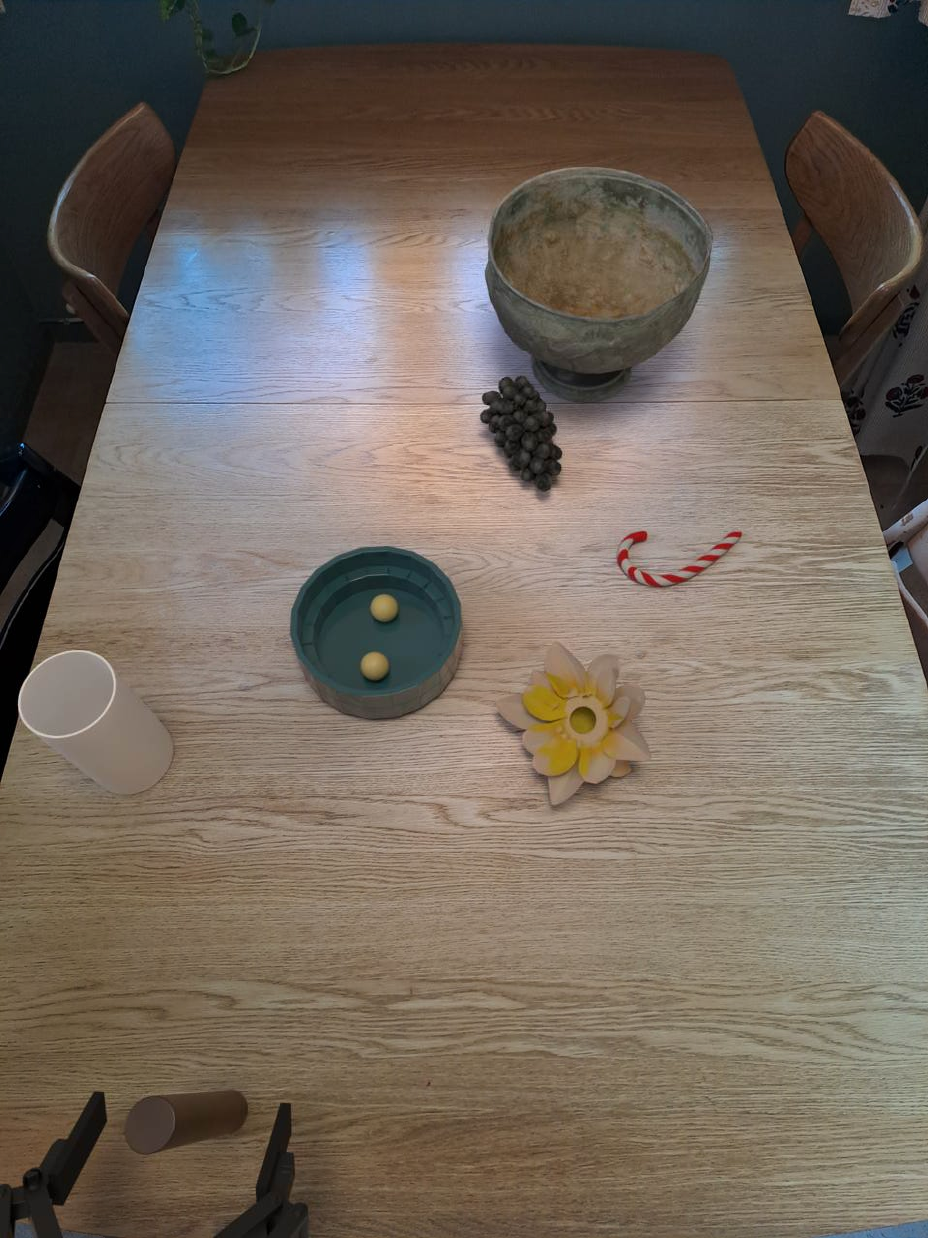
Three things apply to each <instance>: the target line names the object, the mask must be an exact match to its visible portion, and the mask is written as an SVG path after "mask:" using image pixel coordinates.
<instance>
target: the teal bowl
mask: <svg viewBox="0 0 928 1238" xmlns="http://www.w3.org/2000/svg"><path fill="white" fill-rule="evenodd" d="M381 594H387V595H390V596H392V597H393V598H394V599H395V600H396V601H397V603H398V613H397V615H396V616H395V618H393V619H392V620H390V621H388V622H381V621H378V620H377V619H375V618H374V616H373V615H372V613H371V603H372V601H373V599H374V598H375V597H377V596H379V595H381ZM461 604H462V603H461V600H460V598H459V596H458V593H457V592H456V588H455V586H454V584H453V582H452V580H451V579H450V578H449V577H448V576H447V574H446V573H444V571H442V569H441V568H440V567H439V566H438V565H437V564H436V563H435V562H433V561H431V560H429V559H428V558H426V557H424V556H422V555H420V554H419V553H416V552H415V551H413V550H410V549H409V550H408V549H404V548H398V547H395V546H390V545H381V546H379V545H377V546H363V547H362V546H361V547H358V548H355V549H353V550H350V551H346V552H343V553H340V554H338V555H336V556H334V557H333V558H331V559H330V560H328V561H327V562H325V563H324V564H322V565H320V566H318V567H317V568H316V569H315V570H314V571H313V572H312V574H311V575H310V576H309V577H308V578H307V580H305V582H304V583H303V584H302V585H301V587H300V588H299V590H298V593H297V595H296V597H295V600H294V602H293V605H292V606H291V610H290V623H289V626H290V627H289V636H290V638H291V642H292V645H293V648H294V651H295V655H296V658H297V659H298V662H299V664H300V667H301V669H302V672H303V674H304V677H305V680H306V682H308V684H309V685H310V687H311V688H312V689H313V690H314V692H315V693H316V694H317V695H318V696H319V697H320V699H321V700H322V701H324V702H325V703H327V704H329V705H330V706H332V707H334V708H335V709H336V710H338V711H340V712H341V713H344V714H347V715H348V714H349V715H352V716H355V717H360V718H364V719H387V718H398V717H401V716H402V715H405V714H408V713H410V712H413V711H416V710H419V709H421V708H422V707H424V706H425V705H427V704H428V703H429V702H431V701H432V700H433V699H435V698H436V697H437V696H439V695H440V694H441V693H442V692H443V691H444V689H445V688H446V687H447V685H448V683H449V682H450V681H451V680H452V678H453V677H454V676H455V674H456V672H457V668H458V666H459V662H460V658H461V655H462V651H463V622H462V620H463V619H462V605H461ZM370 652H379V653H382V654H383V655H384V656H385V657H386V658H387V659H388V662H389V670H388V673H387V674H386V676H385V677H384V678H382V679H380V680H375V681H374V680H369V679H367V678H366V677H365V676H364V675H363V674H362V672H361V669H360V664H361V660H362V659H363V657H364V656H365V655H366V654H368V653H370Z"/></svg>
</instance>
